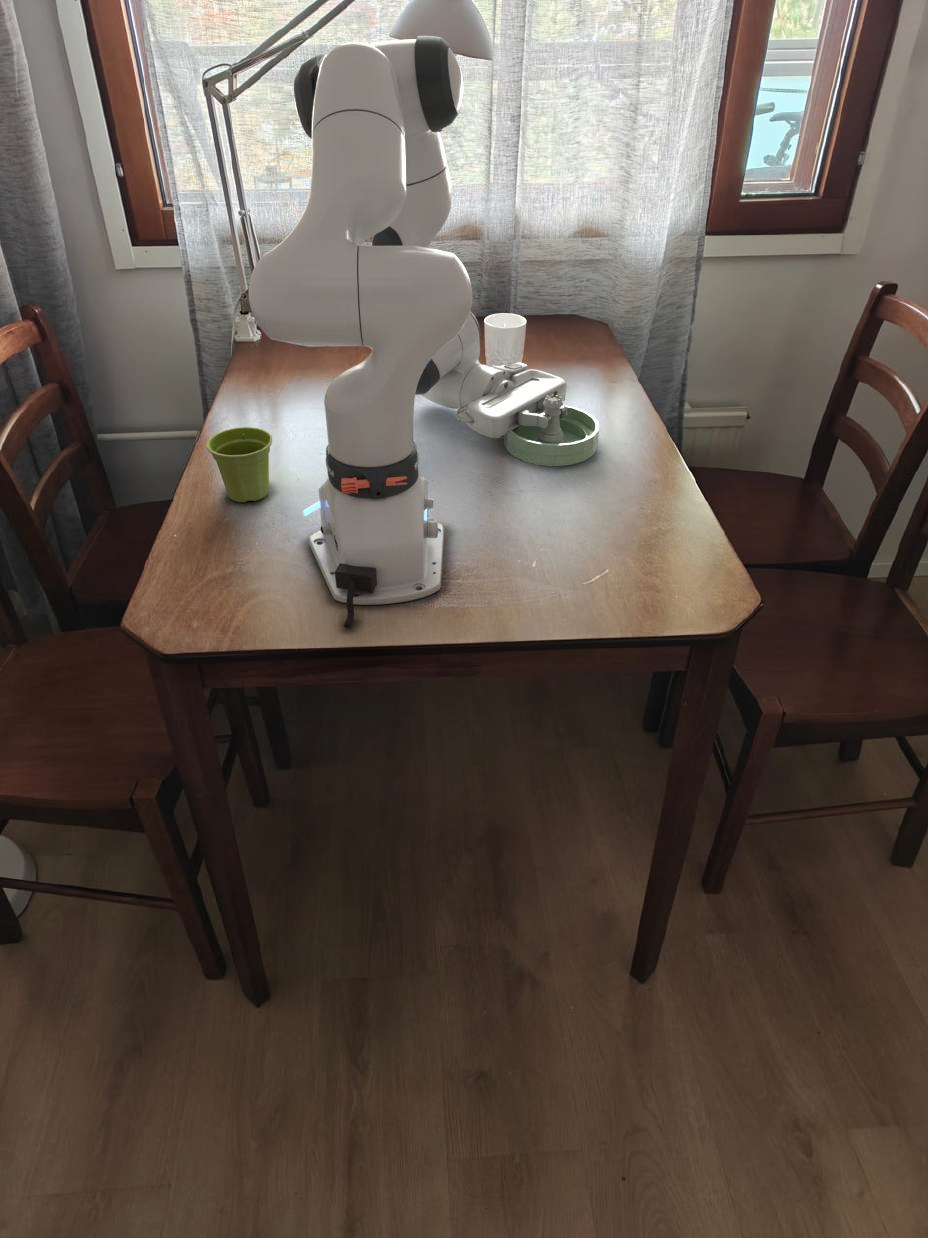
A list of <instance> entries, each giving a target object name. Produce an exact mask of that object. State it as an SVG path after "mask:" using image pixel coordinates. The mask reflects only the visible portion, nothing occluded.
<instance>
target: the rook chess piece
mask: <svg viewBox="0 0 928 1238" xmlns="http://www.w3.org/2000/svg"><path fill="white" fill-rule="evenodd" d="M553 395H554V394H553ZM553 395H550V397H549V395H547V396H546V397H545V400H544V402H543V405H544V406H545V410H544V413H545V414H547V415H550V416H551V418H552V420H551V425H549V426H548V427H546V428H542V427H541V430H540V431H539V432H538V438H537V442H540V443H549V444H563V442H564V441H563V437H564V435H563V432H562V431H561V428H560V420H559V417H560V414H561V411H560V408H561V407H562V405H564V401H563V402H562V401H561V397H559V396H558V395H556V397H553Z"/></svg>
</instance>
